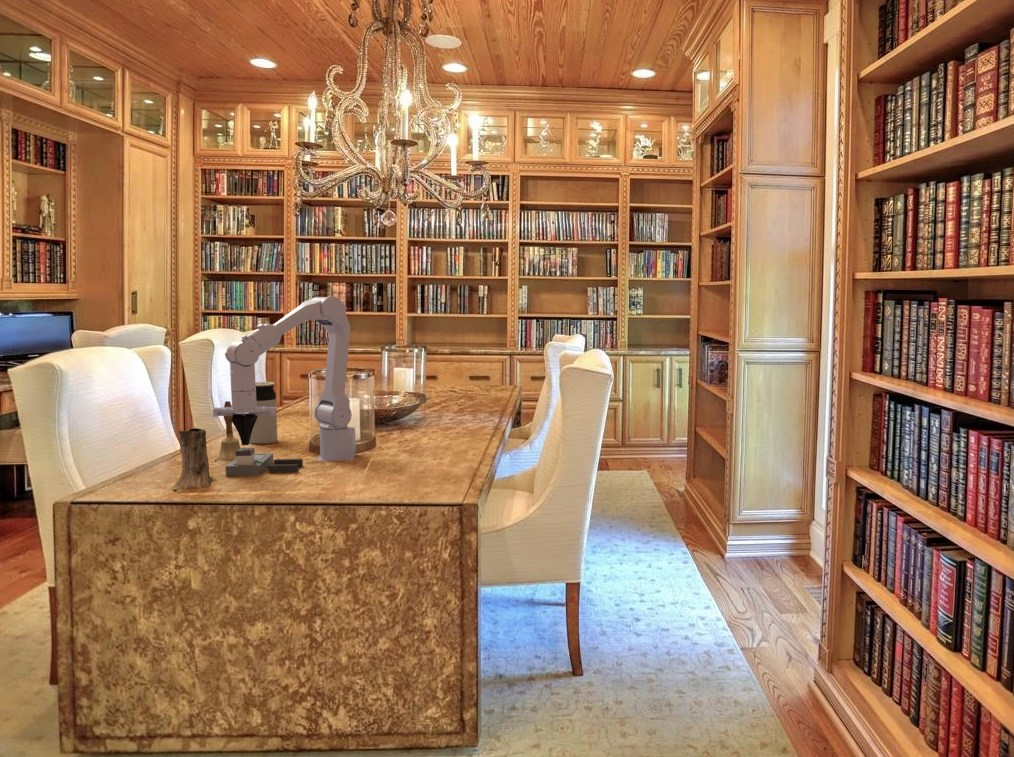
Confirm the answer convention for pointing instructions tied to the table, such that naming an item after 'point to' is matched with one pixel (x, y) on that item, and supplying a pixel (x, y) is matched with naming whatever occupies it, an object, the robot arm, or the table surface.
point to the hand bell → (228, 440)
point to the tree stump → (193, 460)
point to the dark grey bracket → (285, 466)
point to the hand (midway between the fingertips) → (245, 444)
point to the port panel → (250, 466)
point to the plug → (245, 456)
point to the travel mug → (265, 424)
